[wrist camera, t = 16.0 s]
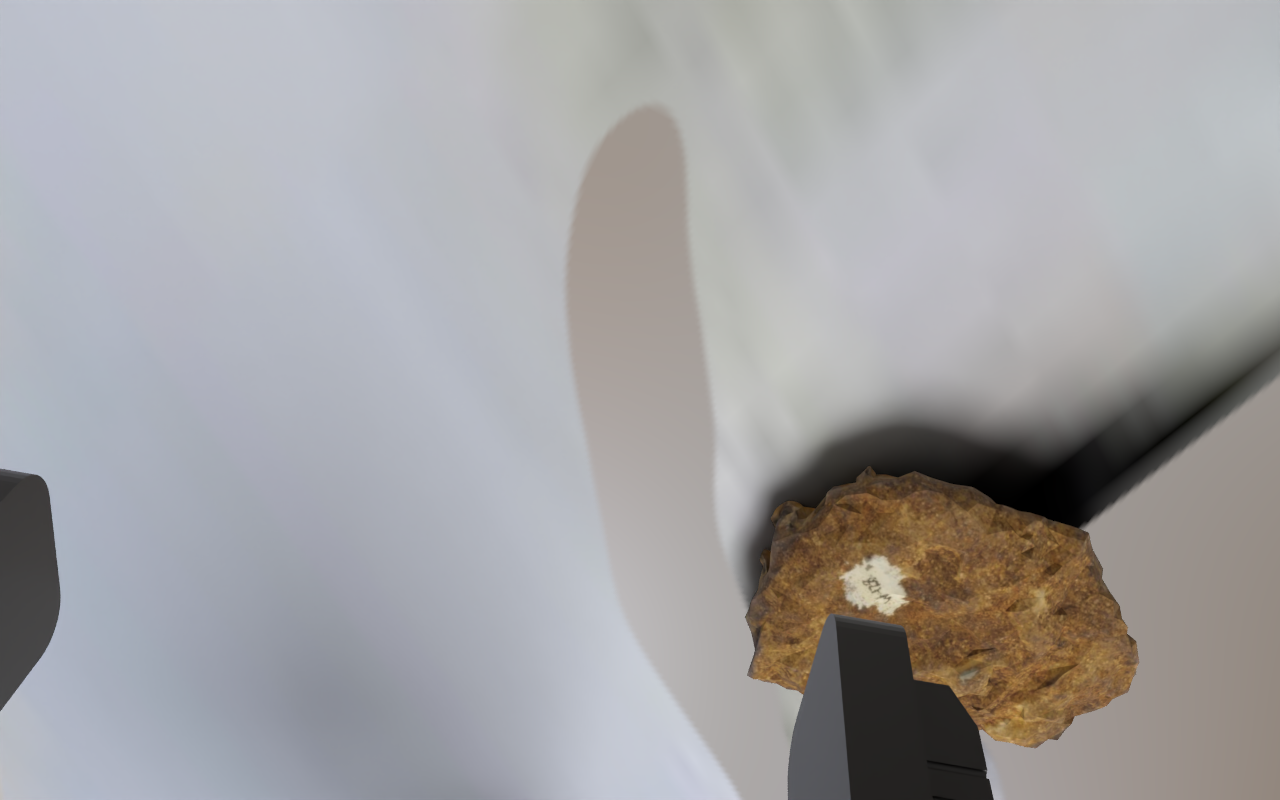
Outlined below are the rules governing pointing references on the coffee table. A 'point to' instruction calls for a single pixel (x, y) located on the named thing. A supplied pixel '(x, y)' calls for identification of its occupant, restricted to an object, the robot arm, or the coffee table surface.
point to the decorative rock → (948, 600)
